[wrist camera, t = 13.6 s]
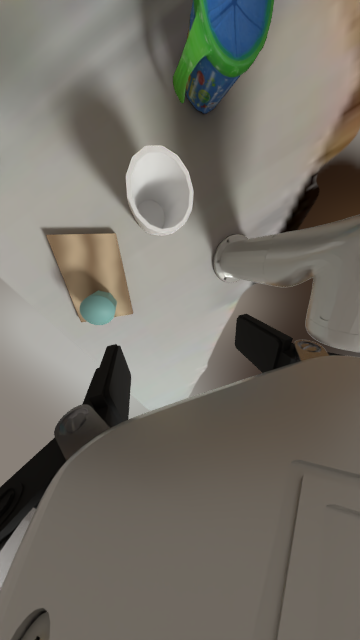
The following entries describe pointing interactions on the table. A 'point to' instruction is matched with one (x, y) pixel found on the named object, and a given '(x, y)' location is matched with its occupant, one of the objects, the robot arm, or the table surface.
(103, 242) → the board
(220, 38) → the snack cup
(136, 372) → the table surface
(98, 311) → the cap
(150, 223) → the foam cup
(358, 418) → the robot arm
